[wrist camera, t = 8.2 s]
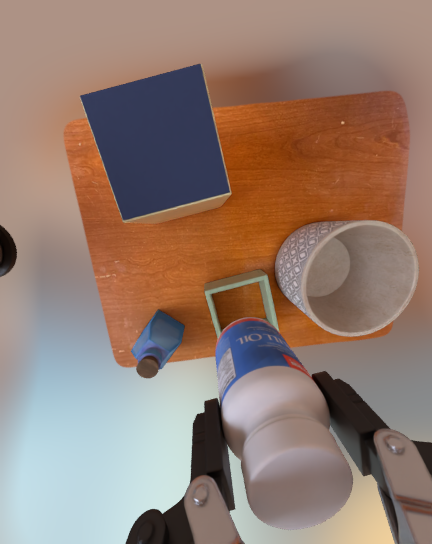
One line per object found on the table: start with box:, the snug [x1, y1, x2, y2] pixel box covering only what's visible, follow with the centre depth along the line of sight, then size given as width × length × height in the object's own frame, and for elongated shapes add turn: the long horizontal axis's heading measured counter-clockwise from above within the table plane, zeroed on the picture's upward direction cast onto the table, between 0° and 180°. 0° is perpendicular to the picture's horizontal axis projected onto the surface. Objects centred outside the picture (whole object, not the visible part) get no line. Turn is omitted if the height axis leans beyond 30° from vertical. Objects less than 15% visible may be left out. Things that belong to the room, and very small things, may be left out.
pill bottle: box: [216, 317, 353, 530], centre depth 12 cm, size 6×5×10 cm
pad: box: [80, 64, 230, 220], centre depth 21 cm, size 12×12×1 cm
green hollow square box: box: [204, 269, 279, 338], centre depth 40 cm, size 11×11×5 cm
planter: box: [275, 220, 419, 336], centre depth 35 cm, size 16×16×13 cm
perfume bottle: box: [131, 309, 185, 378], centre depth 37 cm, size 6×6×12 cm
